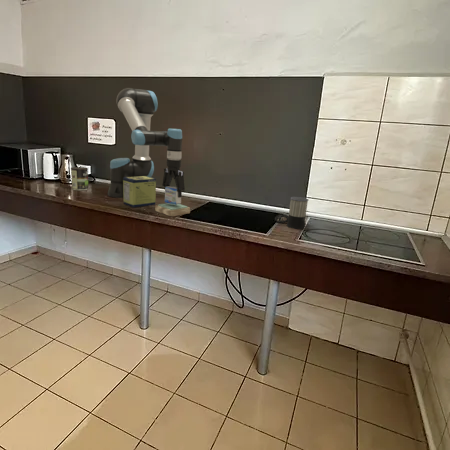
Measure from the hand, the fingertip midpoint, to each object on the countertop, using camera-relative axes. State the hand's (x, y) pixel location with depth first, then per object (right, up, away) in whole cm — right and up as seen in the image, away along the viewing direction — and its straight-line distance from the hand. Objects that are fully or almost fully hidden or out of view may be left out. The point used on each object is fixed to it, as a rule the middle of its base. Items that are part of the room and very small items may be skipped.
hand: (172, 201), depth 180 cm
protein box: (-21, -1, +13) cm, 25 cm away
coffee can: (-69, +11, +42) cm, 81 cm away
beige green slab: (0, -6, +2) cm, 6 cm away
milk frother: (+62, -13, -6) cm, 64 cm away
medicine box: (0, -1, 0) cm, 1 cm away
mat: (0, -3, +1) cm, 3 cm away
